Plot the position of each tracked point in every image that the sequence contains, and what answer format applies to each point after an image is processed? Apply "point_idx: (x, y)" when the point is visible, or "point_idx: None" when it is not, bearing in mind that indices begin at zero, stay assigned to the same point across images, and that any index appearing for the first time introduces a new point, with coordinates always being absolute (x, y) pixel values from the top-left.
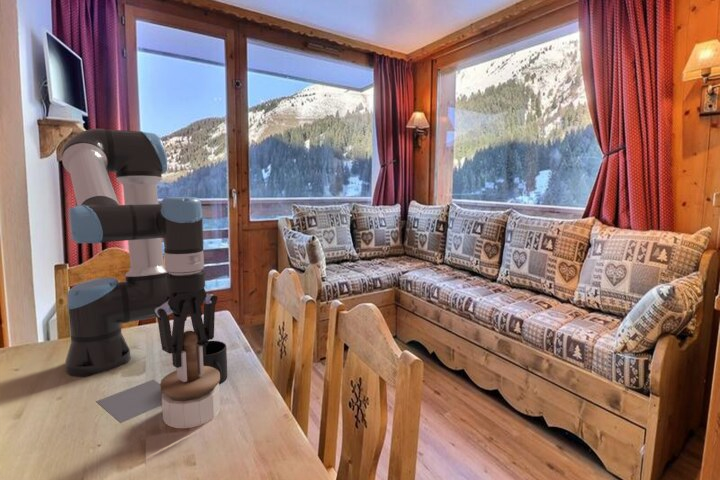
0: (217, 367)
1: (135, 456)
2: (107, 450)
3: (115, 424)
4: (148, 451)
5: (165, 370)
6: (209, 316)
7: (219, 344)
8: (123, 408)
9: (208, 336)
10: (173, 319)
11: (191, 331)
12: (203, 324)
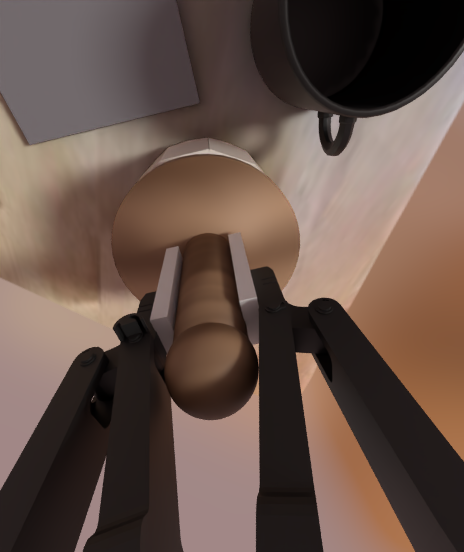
0: (335, 146)
1: (81, 278)
2: (22, 231)
3: (16, 126)
4: (104, 278)
5: None
6: (379, 478)
7: None
8: (22, 50)
9: (313, 354)
10: (97, 528)
11: (229, 412)
12: (339, 363)
